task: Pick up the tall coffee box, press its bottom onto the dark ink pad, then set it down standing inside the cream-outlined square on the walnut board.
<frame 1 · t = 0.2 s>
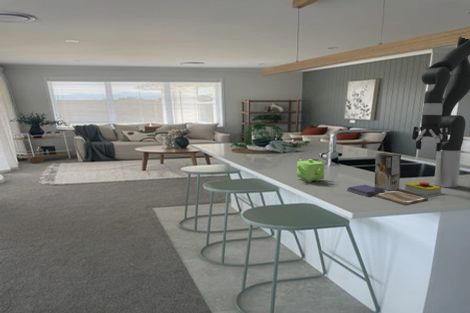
hand: (428, 150, 140), 18 cm above the table, tool pointing down, fingers open, 8 cm apart
emergency button: (421, 192, 140), on the table
green knobbed block: (310, 180, 164), on the table
marked board: (400, 198, 129), on the table
coffee box: (386, 188, 146), on the table
ink pad: (365, 192, 139), on the table
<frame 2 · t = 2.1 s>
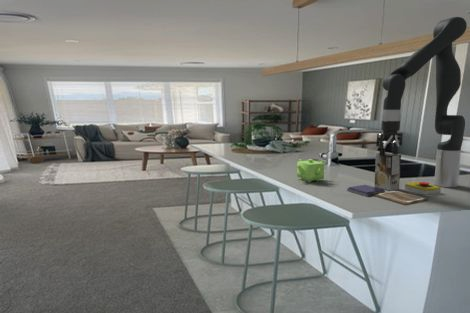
hand: (388, 155, 143), 15 cm above the table, tool pointing down, fingers open, 8 cm apart
nothing on the table moved.
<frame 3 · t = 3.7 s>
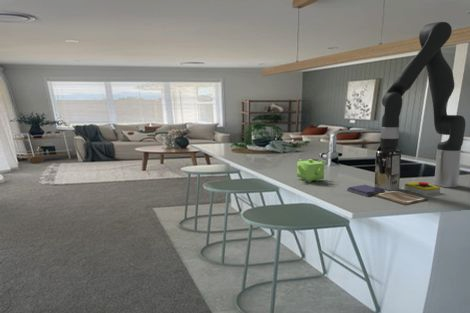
hand: (387, 172, 144), 7 cm above the table, tool pointing down, fingers closed on coffee box, 6 cm apart
coffee box: (386, 188, 146), on the table, touching gripper
everything else where it was.
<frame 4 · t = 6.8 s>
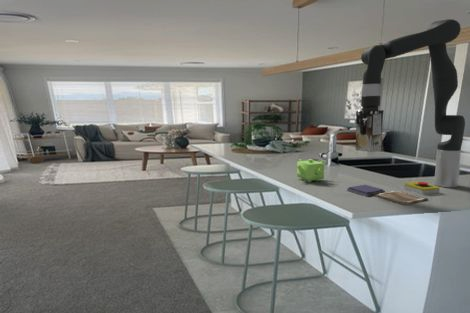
hand: (368, 134, 135), 26 cm above the table, tool pointing down, fingers closed on coffee box, 6 cm apart
coffee box: (367, 151, 136), point 18 cm above the table, touching gripper
everything else where it was.
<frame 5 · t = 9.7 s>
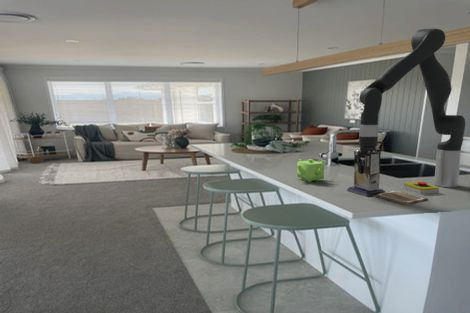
hand: (366, 172, 138), 9 cm above the table, tool pointing down, fingers closed on coffee box, 6 cm apart
coffee box: (366, 188, 139), point 2 cm above the table, touching gripper
everything else where it was.
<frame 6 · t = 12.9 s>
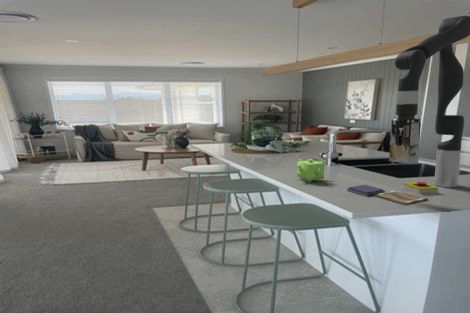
hand: (404, 144, 126), 22 cm above the table, tool pointing down, fingers closed on coffee box, 6 cm apart
coffee box: (403, 162, 127), point 15 cm above the table, touching gripper
when the fingers open (9 cm above the table, at t = 15.7 s): coffee box drops 1 cm, resting on marked board.
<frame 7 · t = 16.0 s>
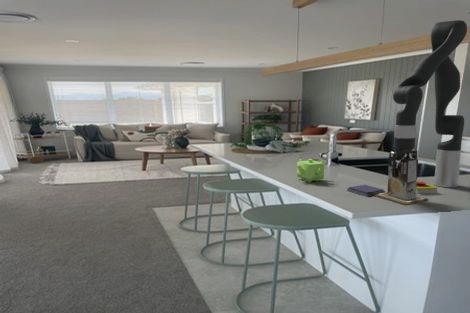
hand: (402, 176, 128), 9 cm above the table, tool pointing down, fingers open, 8 cm apart
coffee box: (401, 197, 129), resting on marked board
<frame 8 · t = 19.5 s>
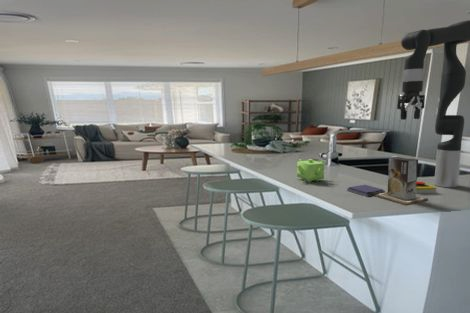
hand: (410, 119, 134), 32 cm above the table, tool pointing down, fingers open, 8 cm apart
at the end: coffee box 0.3 cm off-centre on the marked board, point 0.4 cm above the marked board's base; coffee box tilted 0°; the gripper is holding nothing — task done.
